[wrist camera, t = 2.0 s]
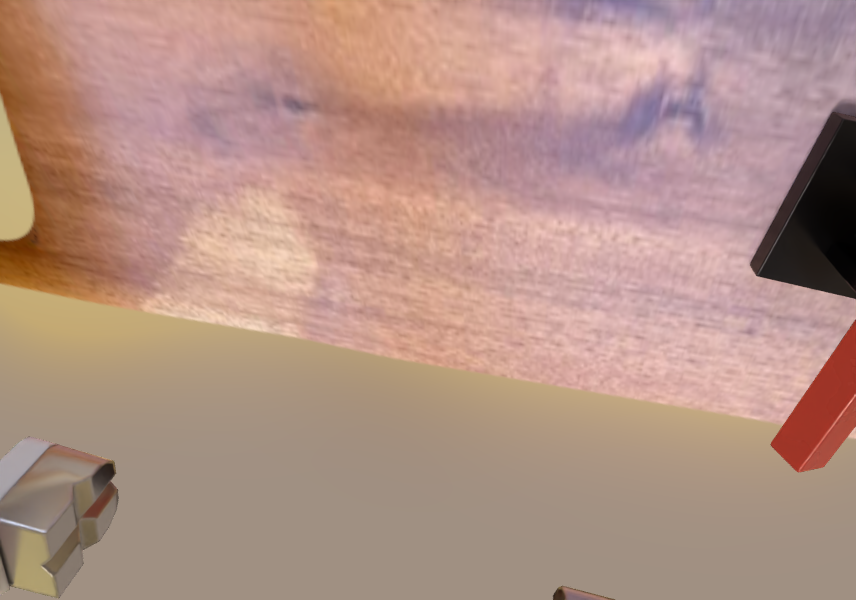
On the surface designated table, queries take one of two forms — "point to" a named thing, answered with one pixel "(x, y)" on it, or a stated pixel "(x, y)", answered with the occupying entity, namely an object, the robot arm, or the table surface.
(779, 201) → the table surface
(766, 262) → the bracket
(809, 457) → the lever
